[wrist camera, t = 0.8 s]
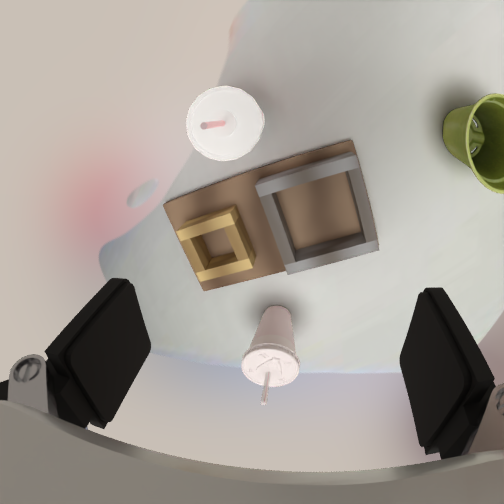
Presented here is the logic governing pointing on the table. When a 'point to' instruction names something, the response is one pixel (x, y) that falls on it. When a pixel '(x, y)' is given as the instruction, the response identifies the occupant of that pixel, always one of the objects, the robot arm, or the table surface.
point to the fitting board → (277, 218)
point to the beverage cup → (224, 123)
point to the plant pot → (479, 139)
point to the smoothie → (272, 352)
